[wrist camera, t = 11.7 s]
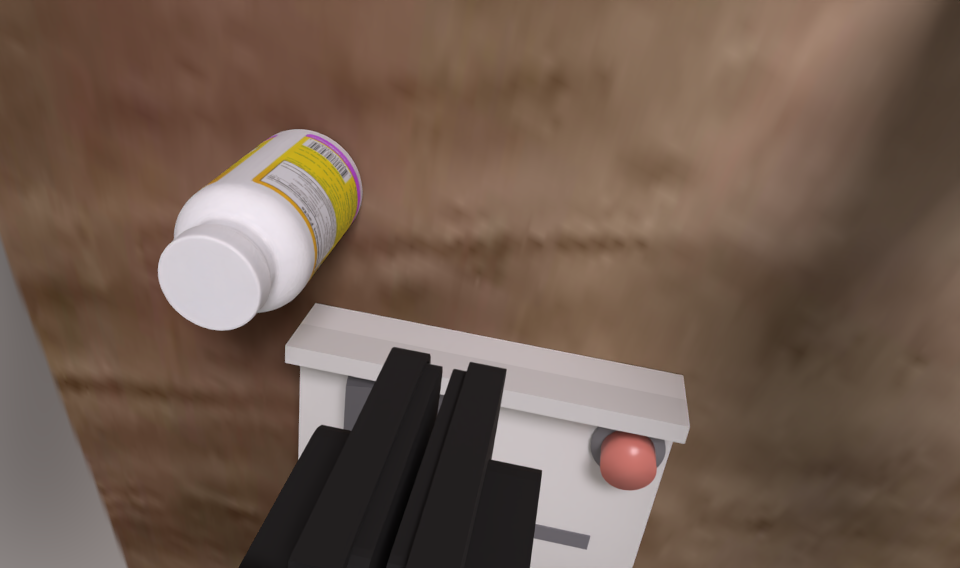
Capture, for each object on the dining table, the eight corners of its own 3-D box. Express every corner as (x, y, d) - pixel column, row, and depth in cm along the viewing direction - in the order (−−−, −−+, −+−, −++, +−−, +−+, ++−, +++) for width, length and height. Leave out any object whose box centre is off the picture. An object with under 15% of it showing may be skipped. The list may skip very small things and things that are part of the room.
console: (683, 375, 46) (690, 427, 42) (625, 560, 54) (625, 620, 49) (315, 303, 48) (285, 345, 44) (310, 492, 56) (283, 544, 51)
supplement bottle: (263, 231, 46) (149, 343, 35) (248, 122, 43) (118, 207, 32) (370, 238, 45) (289, 356, 34) (363, 129, 42) (271, 219, 31)
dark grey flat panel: (449, 385, 46) (449, 395, 45) (442, 436, 48) (441, 447, 47) (348, 375, 45) (345, 385, 44) (345, 428, 47) (342, 438, 46)
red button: (661, 435, 45) (662, 453, 43) (648, 476, 46) (649, 495, 45) (606, 424, 45) (606, 441, 44) (595, 465, 46) (595, 484, 45)
